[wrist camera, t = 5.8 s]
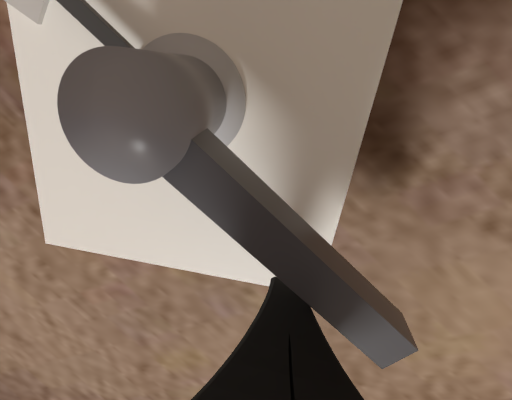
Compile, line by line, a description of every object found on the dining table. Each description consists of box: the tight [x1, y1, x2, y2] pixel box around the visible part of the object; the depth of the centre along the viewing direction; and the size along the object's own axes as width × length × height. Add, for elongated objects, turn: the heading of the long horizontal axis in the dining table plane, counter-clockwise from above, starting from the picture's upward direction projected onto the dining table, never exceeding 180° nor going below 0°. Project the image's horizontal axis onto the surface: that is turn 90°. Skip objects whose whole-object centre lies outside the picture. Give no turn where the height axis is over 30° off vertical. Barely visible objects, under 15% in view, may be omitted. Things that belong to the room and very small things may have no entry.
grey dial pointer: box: [56, 0, 418, 369], centre depth 8 cm, size 16×3×4 cm, turn 46°
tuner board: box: [4, 0, 403, 286], centre depth 11 cm, size 12×14×1 cm
